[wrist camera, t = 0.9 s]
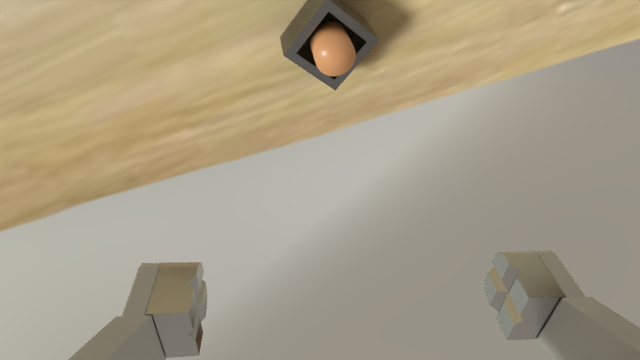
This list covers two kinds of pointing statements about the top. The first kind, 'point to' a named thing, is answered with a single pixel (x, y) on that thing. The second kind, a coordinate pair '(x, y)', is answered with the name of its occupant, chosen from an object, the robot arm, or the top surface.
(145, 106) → the top surface
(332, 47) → the brown egg
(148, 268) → the robot arm
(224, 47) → the top surface
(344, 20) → the dark grey open box
